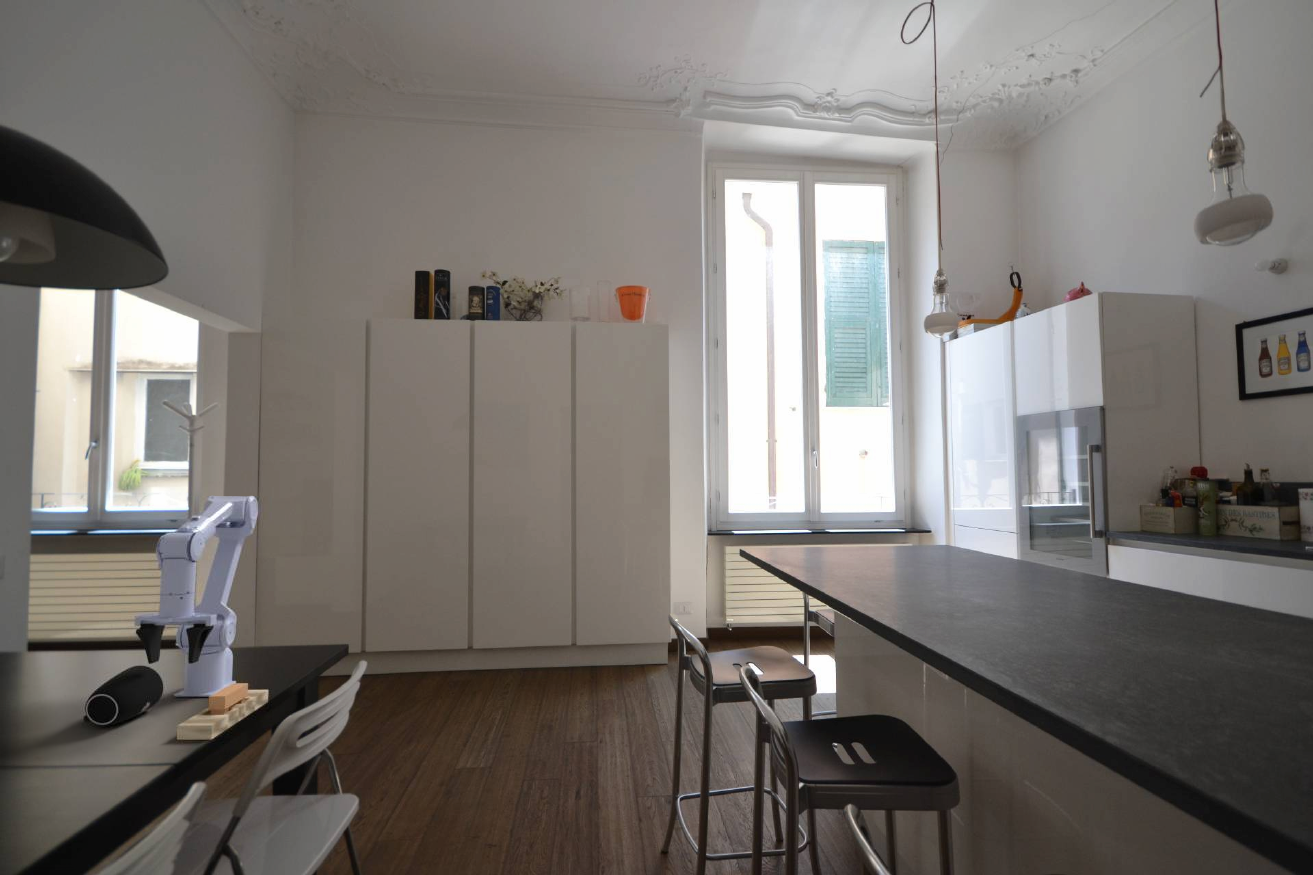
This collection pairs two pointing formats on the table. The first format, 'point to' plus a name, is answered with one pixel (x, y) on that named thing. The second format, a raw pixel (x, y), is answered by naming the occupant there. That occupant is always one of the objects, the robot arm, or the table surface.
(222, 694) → the clip
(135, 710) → the black cylindrical speaker
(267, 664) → the table surface
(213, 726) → the rail
